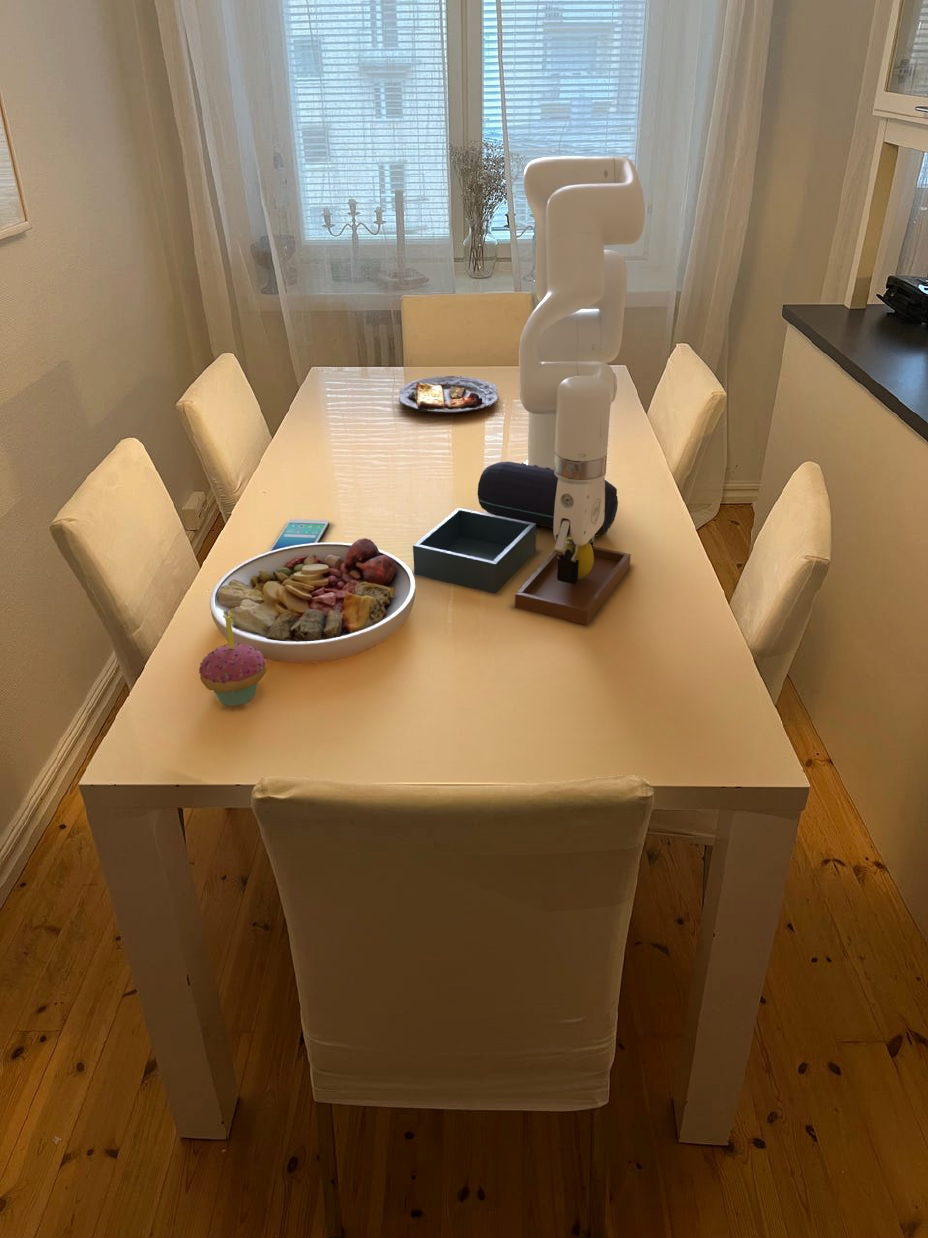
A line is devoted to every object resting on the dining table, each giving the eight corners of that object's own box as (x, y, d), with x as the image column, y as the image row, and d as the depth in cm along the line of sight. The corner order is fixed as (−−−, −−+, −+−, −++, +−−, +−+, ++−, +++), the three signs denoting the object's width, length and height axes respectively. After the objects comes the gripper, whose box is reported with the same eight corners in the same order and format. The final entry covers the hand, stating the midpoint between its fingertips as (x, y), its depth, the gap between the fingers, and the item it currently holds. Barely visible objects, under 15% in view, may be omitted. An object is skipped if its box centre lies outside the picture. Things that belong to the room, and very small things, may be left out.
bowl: (332, 699, 122) (326, 649, 118) (171, 636, 136) (161, 589, 132) (454, 598, 143) (453, 553, 139) (305, 553, 157) (300, 511, 153)
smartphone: (330, 519, 166) (307, 559, 153) (330, 524, 166) (308, 563, 154) (289, 518, 167) (264, 557, 154) (290, 522, 167) (264, 561, 155)
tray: (563, 553, 156) (563, 539, 154) (629, 567, 151) (630, 553, 150) (514, 607, 141) (514, 593, 139) (586, 625, 136) (587, 610, 135)
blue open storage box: (458, 535, 162) (457, 507, 159) (535, 551, 156) (536, 523, 153) (414, 574, 150) (412, 545, 147) (495, 594, 144) (495, 564, 142)
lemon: (590, 591, 143) (593, 545, 138) (554, 588, 144) (556, 542, 139) (593, 574, 147) (596, 528, 143) (558, 571, 148) (560, 526, 144)
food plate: (498, 419, 211) (498, 404, 209) (396, 420, 212) (395, 405, 210) (496, 384, 232) (496, 371, 231) (403, 386, 233) (403, 372, 231)
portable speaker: (624, 526, 164) (628, 473, 158) (604, 549, 156) (607, 495, 151) (497, 500, 174) (497, 449, 169) (472, 521, 167) (471, 469, 161)
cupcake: (210, 679, 126) (195, 603, 120) (273, 675, 127) (261, 599, 121) (200, 717, 119) (184, 639, 113) (267, 713, 120) (254, 635, 113)
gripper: (583, 490, 127) (577, 603, 137) (624, 447, 140) (616, 554, 150) (533, 481, 130) (530, 592, 140) (577, 440, 143) (572, 544, 153)
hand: (575, 571), depth 144 cm, fingers closed on lemon, 5 cm apart
